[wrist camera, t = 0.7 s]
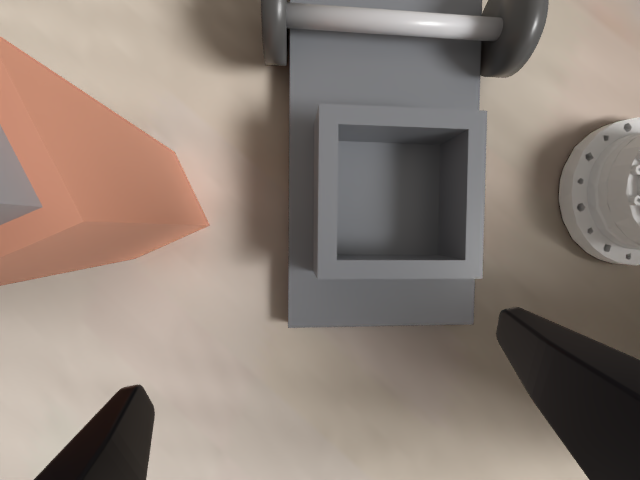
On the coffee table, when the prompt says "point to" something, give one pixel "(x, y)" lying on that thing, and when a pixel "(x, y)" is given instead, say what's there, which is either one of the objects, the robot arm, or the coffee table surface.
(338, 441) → the coffee table surface
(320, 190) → the chassis
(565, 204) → the mechanical component
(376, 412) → the coffee table surface
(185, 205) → the two-tone capped block
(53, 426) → the coffee table surface
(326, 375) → the coffee table surface
